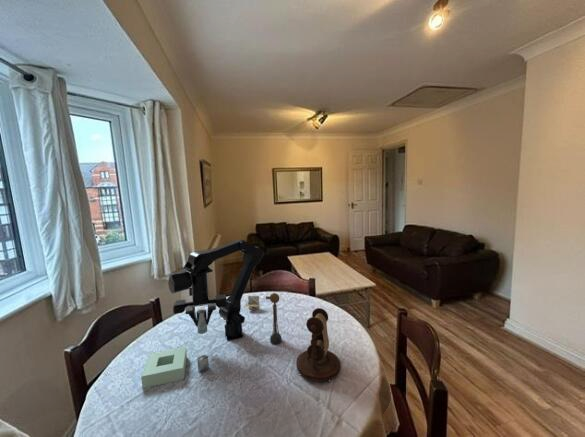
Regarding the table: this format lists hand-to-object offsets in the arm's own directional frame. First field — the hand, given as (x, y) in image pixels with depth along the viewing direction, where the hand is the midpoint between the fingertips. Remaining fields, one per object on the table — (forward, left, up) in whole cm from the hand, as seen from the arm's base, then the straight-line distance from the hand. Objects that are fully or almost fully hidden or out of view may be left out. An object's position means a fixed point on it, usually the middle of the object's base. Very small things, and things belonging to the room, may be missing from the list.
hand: (202, 325), depth 100 cm
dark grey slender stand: (-27, +4, -10) cm, 29 cm away
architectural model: (-24, -27, -11) cm, 37 cm away
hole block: (+12, +9, -10) cm, 18 cm away
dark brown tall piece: (-37, +25, -10) cm, 46 cm away
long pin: (0, 0, -3) cm, 3 cm away
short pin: (0, +12, -10) cm, 15 cm away
